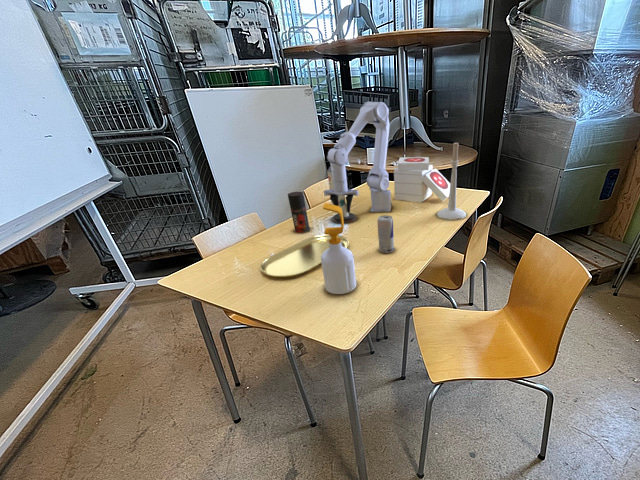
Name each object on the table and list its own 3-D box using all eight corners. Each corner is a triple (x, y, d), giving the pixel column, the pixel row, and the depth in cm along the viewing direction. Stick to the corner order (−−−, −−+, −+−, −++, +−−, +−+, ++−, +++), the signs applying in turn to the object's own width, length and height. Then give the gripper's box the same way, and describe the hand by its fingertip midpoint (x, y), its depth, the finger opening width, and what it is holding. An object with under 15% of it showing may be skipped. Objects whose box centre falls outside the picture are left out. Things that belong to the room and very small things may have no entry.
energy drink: (396, 248, 121) (395, 215, 115) (391, 254, 117) (389, 221, 111) (382, 246, 123) (380, 214, 116) (376, 252, 119) (374, 219, 112)
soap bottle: (327, 280, 103) (314, 200, 89) (356, 278, 103) (348, 198, 90) (324, 295, 95) (309, 211, 82) (356, 293, 96) (346, 209, 82)
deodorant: (311, 227, 141) (305, 191, 132) (307, 233, 136) (300, 195, 127) (298, 227, 141) (290, 191, 133) (292, 232, 136) (285, 195, 128)
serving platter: (360, 244, 125) (359, 240, 124) (289, 285, 100) (288, 281, 99) (322, 235, 133) (322, 231, 133) (248, 271, 109) (247, 267, 108)
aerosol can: (332, 203, 168) (326, 161, 157) (346, 203, 168) (341, 160, 158) (331, 207, 162) (325, 164, 152) (345, 207, 163) (340, 163, 152)
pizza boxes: (445, 206, 160) (447, 166, 151) (389, 199, 171) (387, 162, 161) (456, 195, 175) (459, 158, 165) (404, 190, 186) (404, 155, 176)
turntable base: (358, 215, 152) (358, 212, 152) (354, 223, 143) (354, 221, 143) (335, 215, 153) (334, 212, 153) (329, 223, 144) (329, 221, 143)
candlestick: (463, 210, 155) (469, 139, 138) (467, 219, 144) (474, 144, 128) (436, 210, 155) (438, 139, 139) (438, 220, 145) (441, 144, 128)
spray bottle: (336, 213, 152) (334, 196, 148) (356, 213, 151) (354, 196, 147) (331, 220, 144) (329, 203, 140) (352, 220, 144) (350, 203, 139)
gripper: (320, 182, 136) (324, 214, 144) (355, 182, 135) (358, 215, 143) (324, 178, 142) (329, 209, 150) (358, 178, 141) (361, 209, 148)
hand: (343, 211), depth 146 cm, fingers closed on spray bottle, 4 cm apart
